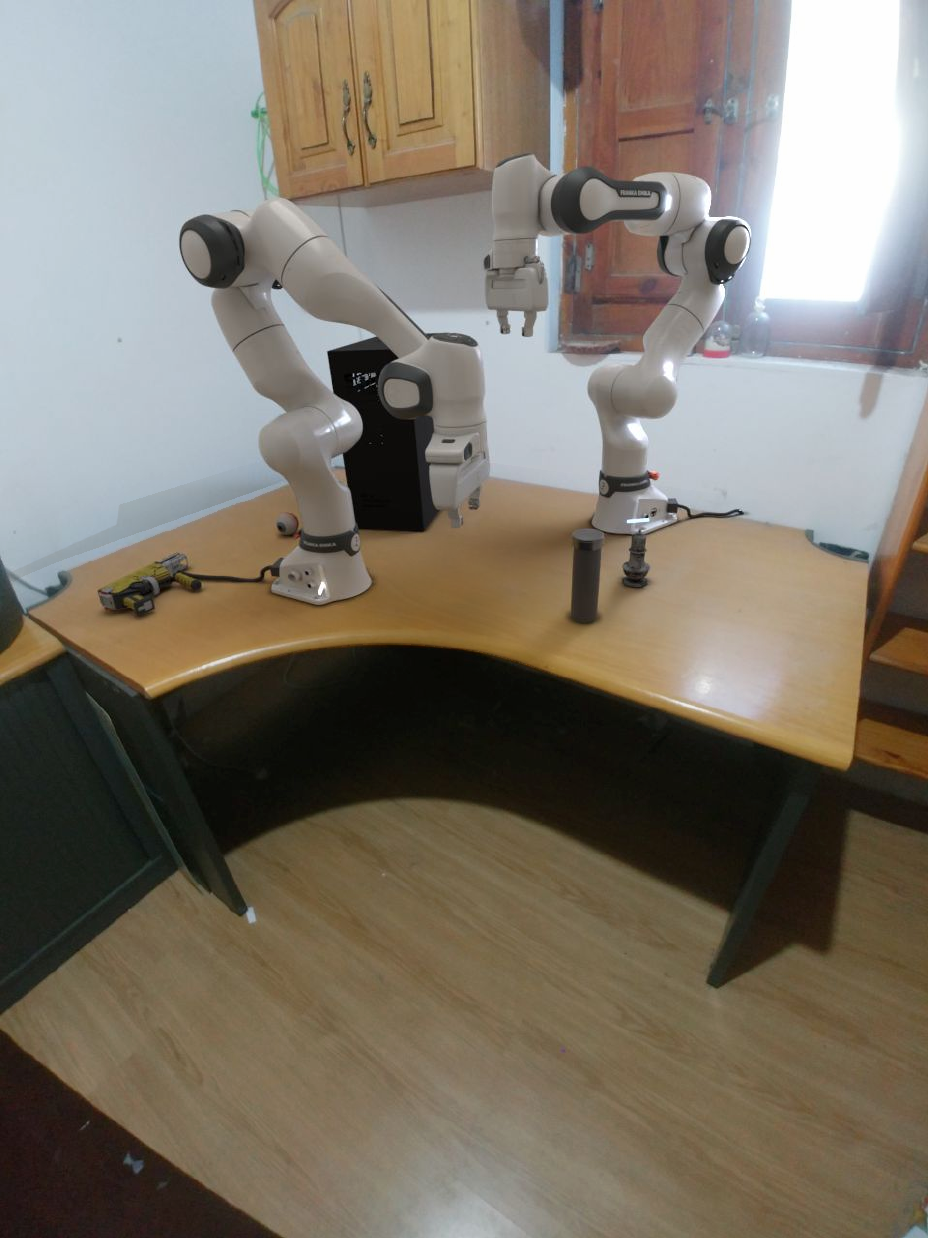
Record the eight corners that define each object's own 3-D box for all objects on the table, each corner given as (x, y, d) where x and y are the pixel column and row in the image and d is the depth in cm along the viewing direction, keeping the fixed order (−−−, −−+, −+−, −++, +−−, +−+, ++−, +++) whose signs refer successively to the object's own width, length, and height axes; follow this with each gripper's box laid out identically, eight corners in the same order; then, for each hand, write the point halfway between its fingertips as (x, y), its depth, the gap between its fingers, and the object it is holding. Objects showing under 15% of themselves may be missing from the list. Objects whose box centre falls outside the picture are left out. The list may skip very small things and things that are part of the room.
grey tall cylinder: (602, 618, 118) (608, 537, 109) (582, 626, 116) (586, 544, 107) (585, 607, 122) (589, 529, 113) (565, 615, 119) (568, 535, 111)
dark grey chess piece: (649, 588, 127) (655, 535, 121) (620, 586, 128) (625, 534, 122) (647, 575, 132) (653, 524, 126) (620, 574, 133) (624, 523, 127)
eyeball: (273, 537, 164) (268, 516, 161) (287, 528, 169) (282, 508, 166) (291, 539, 161) (286, 518, 158) (305, 530, 166) (301, 510, 163)
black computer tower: (424, 530, 162) (407, 348, 139) (353, 528, 166) (326, 351, 144) (457, 486, 193) (448, 332, 171) (397, 485, 198) (380, 334, 175)
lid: (610, 546, 110) (610, 535, 109) (585, 553, 108) (586, 542, 107) (589, 536, 114) (590, 526, 113) (565, 543, 112) (566, 533, 111)
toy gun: (225, 560, 144) (174, 549, 148) (148, 603, 124) (91, 589, 127) (228, 578, 146) (177, 567, 150) (152, 623, 126) (96, 609, 130)
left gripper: (464, 425, 111) (468, 497, 118) (420, 454, 94) (428, 537, 101) (496, 425, 109) (499, 499, 116) (458, 455, 92) (463, 540, 99)
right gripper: (557, 254, 111) (556, 336, 118) (505, 258, 127) (506, 331, 134) (528, 255, 109) (527, 339, 116) (478, 260, 125) (481, 333, 132)
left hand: (466, 517), depth 108 cm, fingers open, 8 cm apart
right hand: (516, 335), depth 125 cm, fingers open, 8 cm apart
